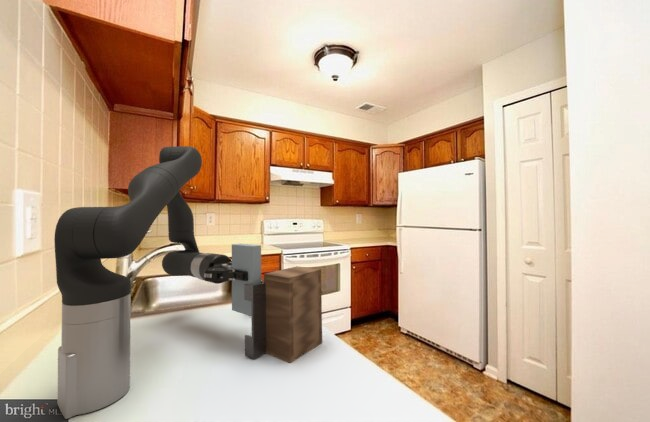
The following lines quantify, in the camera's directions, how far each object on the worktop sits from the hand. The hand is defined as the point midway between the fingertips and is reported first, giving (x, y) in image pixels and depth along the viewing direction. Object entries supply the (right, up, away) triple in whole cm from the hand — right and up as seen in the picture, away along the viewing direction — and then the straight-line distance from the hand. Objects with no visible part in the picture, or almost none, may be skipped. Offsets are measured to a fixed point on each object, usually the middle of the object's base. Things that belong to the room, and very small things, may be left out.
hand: (252, 275), depth 63 cm
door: (-2, -9, +1) cm, 9 cm away
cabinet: (+10, -17, +1) cm, 20 cm away
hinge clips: (+1, -18, -1) cm, 18 cm away
